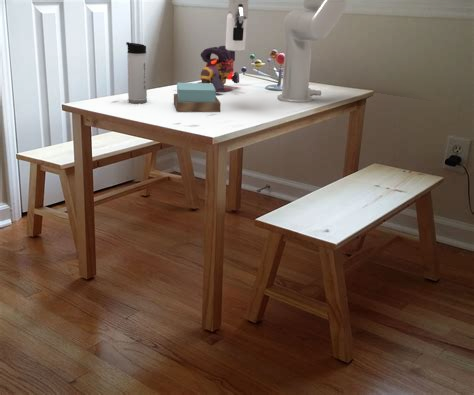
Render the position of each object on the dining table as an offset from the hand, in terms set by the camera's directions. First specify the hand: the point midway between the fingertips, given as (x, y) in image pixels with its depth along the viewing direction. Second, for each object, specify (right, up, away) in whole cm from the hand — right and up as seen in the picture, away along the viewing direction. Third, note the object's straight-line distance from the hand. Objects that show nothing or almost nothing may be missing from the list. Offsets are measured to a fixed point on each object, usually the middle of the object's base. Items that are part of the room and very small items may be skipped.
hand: (235, 38), depth 207 cm
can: (0, -4, +1) cm, 4 cm away
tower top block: (-13, -19, +3) cm, 23 cm away
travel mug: (-34, -19, +10) cm, 40 cm away
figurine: (-7, -11, +35) cm, 37 cm away
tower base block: (-13, -23, +5) cm, 27 cm away
